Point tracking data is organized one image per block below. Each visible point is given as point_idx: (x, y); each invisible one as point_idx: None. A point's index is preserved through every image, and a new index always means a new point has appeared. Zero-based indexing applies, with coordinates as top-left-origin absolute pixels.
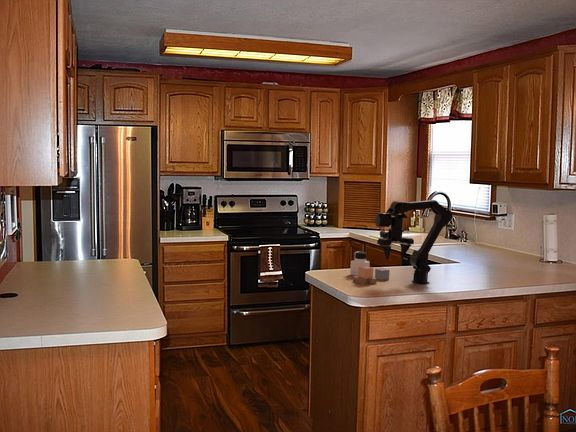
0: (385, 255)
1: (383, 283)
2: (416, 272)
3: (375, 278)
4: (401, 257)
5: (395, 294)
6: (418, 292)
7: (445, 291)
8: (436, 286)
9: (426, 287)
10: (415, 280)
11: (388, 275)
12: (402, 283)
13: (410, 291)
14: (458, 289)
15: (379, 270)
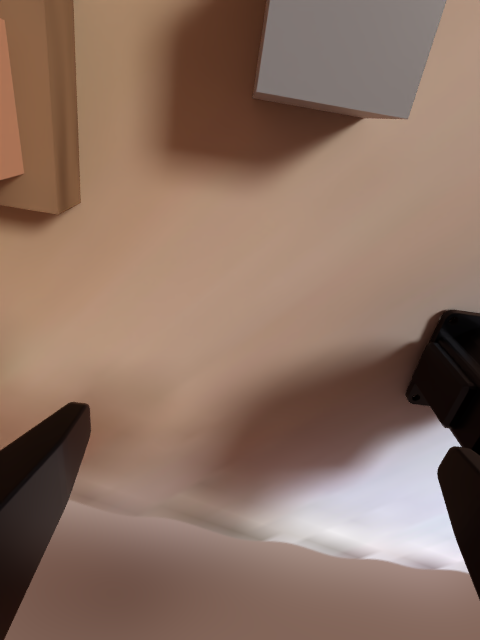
0: (1, 456)
1: (160, 228)
2: (471, 419)
3: (50, 202)
4: (455, 466)
5: None
6: (189, 501)
7: (350, 541)
8: None
9: (353, 457)
10: (421, 373)
11: (368, 115)
12: (320, 311)
13: (163, 473)
14: None
15: (266, 25)
